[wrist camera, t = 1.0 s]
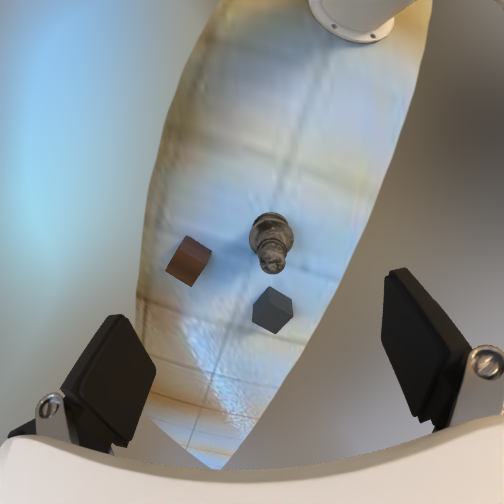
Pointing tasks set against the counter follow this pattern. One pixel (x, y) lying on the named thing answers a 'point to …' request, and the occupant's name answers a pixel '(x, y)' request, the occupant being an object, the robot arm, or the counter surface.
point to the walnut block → (188, 261)
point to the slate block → (272, 310)
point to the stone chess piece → (271, 241)
